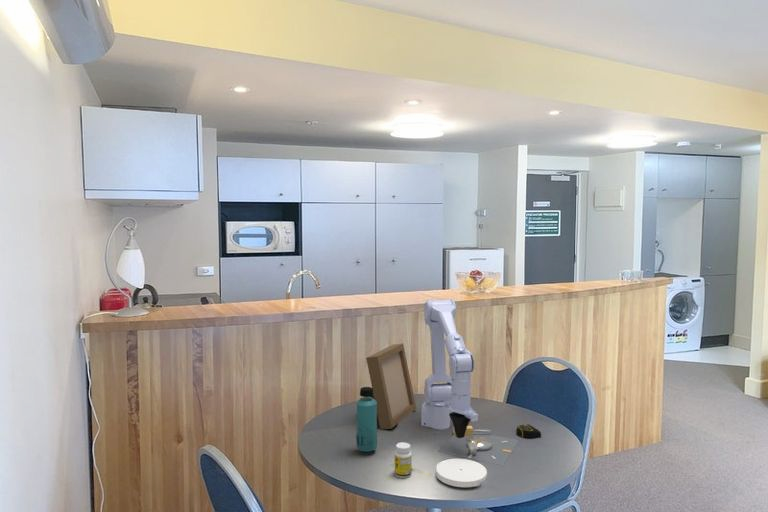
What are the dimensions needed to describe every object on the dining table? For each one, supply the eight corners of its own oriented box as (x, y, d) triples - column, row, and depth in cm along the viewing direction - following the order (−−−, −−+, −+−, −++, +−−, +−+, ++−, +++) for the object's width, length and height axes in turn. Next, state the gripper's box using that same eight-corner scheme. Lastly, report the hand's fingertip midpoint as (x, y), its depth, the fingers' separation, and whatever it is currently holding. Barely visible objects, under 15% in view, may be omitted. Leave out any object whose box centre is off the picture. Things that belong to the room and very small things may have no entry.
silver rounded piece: (470, 438, 172) (470, 425, 172) (495, 442, 168) (495, 430, 168) (458, 452, 161) (458, 439, 161) (484, 458, 158) (484, 444, 157)
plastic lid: (438, 464, 157) (439, 456, 157) (487, 469, 154) (487, 461, 154) (432, 487, 143) (432, 478, 143) (485, 493, 140) (486, 484, 140)
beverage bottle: (380, 449, 166) (380, 385, 165) (372, 458, 160) (373, 392, 159) (360, 446, 168) (360, 383, 167) (352, 454, 162) (352, 389, 161)
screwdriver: (454, 435, 175) (454, 428, 174) (453, 432, 177) (453, 425, 177) (491, 436, 174) (491, 429, 174) (490, 433, 177) (490, 426, 176)
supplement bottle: (393, 470, 152) (393, 441, 152) (410, 470, 153) (410, 441, 152) (395, 478, 147) (395, 449, 147) (412, 478, 148) (412, 448, 147)
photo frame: (416, 411, 200) (417, 344, 199) (391, 431, 181) (392, 358, 179) (380, 405, 207) (381, 340, 205) (353, 424, 187) (353, 353, 186)
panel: (437, 455, 162) (437, 450, 162) (458, 432, 180) (458, 428, 180) (502, 469, 153) (502, 464, 153) (518, 444, 171) (518, 439, 171)
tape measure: (541, 441, 174) (542, 430, 173) (523, 444, 172) (523, 432, 171) (530, 433, 180) (530, 422, 180) (512, 435, 178) (512, 424, 178)
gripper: (436, 388, 167) (435, 431, 167) (464, 402, 154) (463, 448, 155) (455, 385, 170) (454, 427, 171) (484, 398, 157) (483, 443, 158)
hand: (460, 437), depth 163 cm, fingers closed
